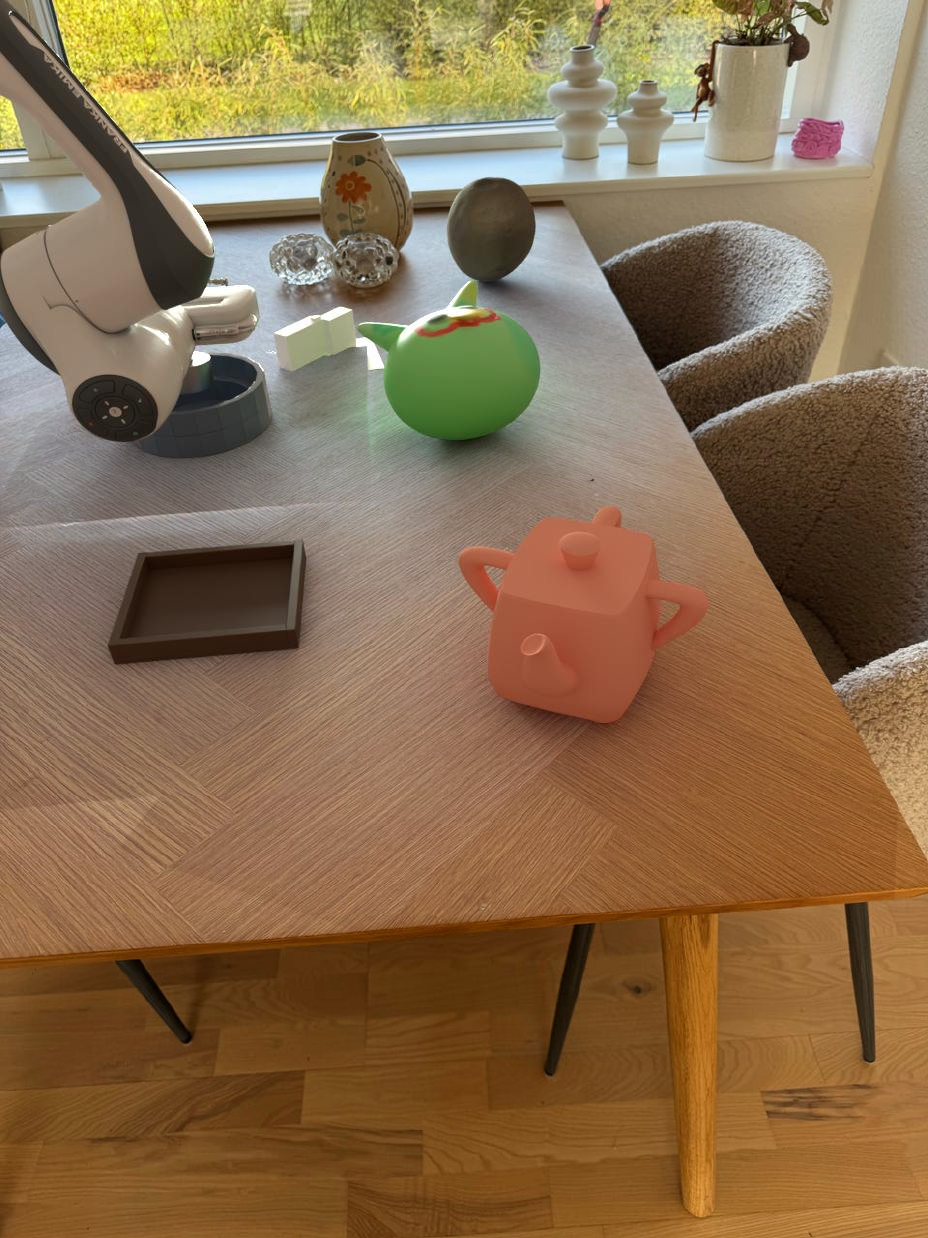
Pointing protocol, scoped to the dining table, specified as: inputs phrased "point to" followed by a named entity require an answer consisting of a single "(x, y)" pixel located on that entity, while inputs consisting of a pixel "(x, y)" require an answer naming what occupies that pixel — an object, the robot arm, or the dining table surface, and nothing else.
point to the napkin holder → (321, 340)
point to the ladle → (198, 374)
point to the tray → (211, 602)
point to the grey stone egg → (490, 228)
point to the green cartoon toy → (458, 369)
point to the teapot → (577, 615)
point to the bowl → (215, 412)
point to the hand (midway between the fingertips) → (170, 290)
